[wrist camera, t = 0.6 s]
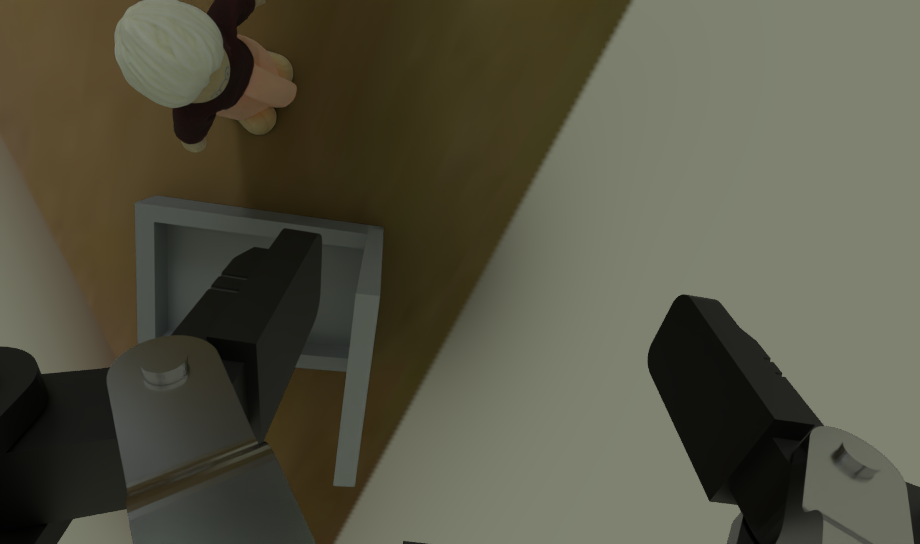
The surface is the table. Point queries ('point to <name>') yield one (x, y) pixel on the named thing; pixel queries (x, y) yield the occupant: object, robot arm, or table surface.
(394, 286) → the table surface
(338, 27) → the table surface
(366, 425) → the table surface
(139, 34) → the grandmother figurine
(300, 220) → the case
